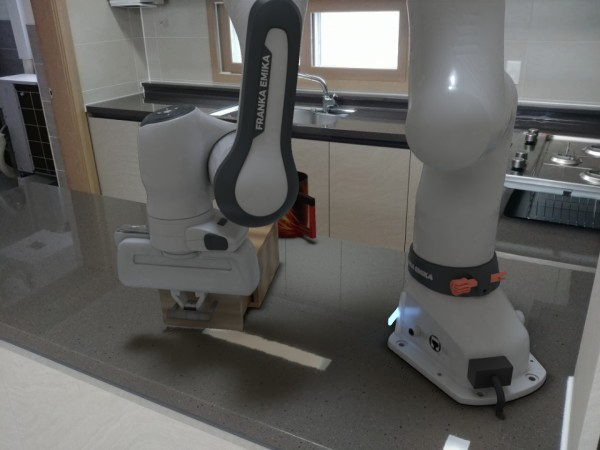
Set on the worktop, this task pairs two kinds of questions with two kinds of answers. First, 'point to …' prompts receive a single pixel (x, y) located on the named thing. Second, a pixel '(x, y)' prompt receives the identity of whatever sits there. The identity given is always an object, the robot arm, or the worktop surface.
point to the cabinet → (264, 258)
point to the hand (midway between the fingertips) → (193, 313)
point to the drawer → (206, 311)
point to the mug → (299, 214)
